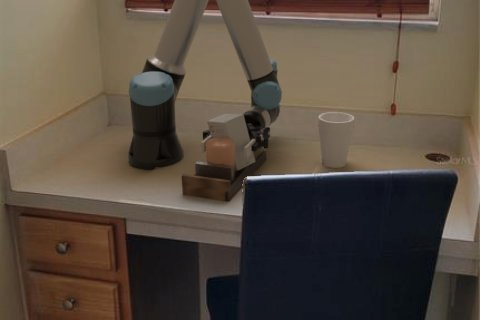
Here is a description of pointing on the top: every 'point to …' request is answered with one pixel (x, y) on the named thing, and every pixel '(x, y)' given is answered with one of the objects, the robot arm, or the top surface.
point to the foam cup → (335, 137)
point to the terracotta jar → (221, 152)
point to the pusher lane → (219, 183)
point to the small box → (233, 135)
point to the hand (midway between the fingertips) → (223, 150)
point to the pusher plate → (214, 171)
